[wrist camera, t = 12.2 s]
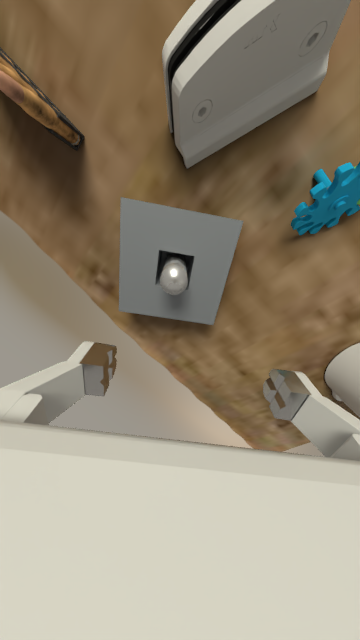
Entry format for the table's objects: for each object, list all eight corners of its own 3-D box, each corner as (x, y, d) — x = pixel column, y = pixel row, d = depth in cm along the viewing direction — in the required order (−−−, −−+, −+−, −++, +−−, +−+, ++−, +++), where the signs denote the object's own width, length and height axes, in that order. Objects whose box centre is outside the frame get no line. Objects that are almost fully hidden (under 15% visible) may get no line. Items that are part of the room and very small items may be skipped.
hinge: (184, 170, 24) (168, 93, 15) (169, 133, 24) (142, 28, 14) (320, 88, 21) (418, -84, 11) (306, 43, 20) (395, -178, 11)
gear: (281, 245, 27) (331, 173, 18) (265, 214, 29) (303, 133, 19) (354, 227, 27) (442, 146, 18) (334, 197, 29) (404, 109, 20)
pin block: (231, 220, 27) (243, 221, 22) (208, 308, 34) (213, 325, 28) (132, 201, 26) (120, 197, 21) (128, 295, 32) (118, 310, 27)
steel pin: (187, 254, 28) (190, 270, 20) (183, 273, 30) (185, 296, 21) (167, 250, 28) (161, 265, 19) (164, 270, 30) (158, 292, 21)
